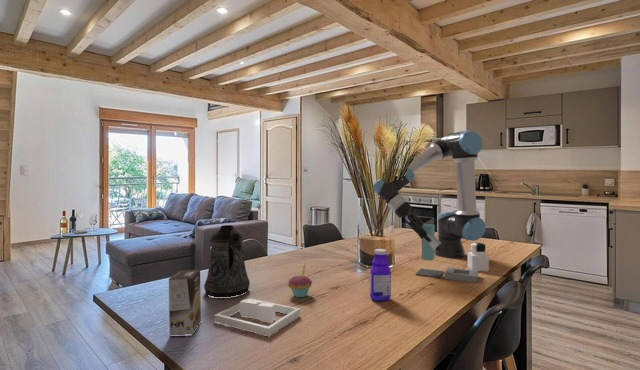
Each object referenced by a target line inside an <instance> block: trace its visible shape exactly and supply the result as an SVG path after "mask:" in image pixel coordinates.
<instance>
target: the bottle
mask: <svg viewBox="0 0 640 370" xmlns="http://www.w3.org/2000/svg"><path fill="white" fill-rule="evenodd" d="M387 257H388V256H387V250H386V249H384V248H376V249H374V257H373V259H372V261H371V263H372V265H371V267H370V270H369V296H370V299H371V300H373V301H375V302H384V301H385V302H386V301H389V300H390V298H391V296H392V295H391V293H392V292H391V290H392V288H391V287H392V272H391V268H390V266H389V263H390V262H389V260H388V258H387Z"/></svg>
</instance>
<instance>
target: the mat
mask: <svg viewBox="0 0 640 370" xmlns="http://www.w3.org/2000/svg"><path fill="white" fill-rule="evenodd" d="M443 274H445V271H444V270H439V269H438V270H437V269H428V268H420V269H419V270H418V271H417V272H416V273H415V276H419V277H426V278H427V277H428V278H437V279H440V278H441V277H442V276H443Z"/></svg>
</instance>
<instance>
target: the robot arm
mask: <svg viewBox="0 0 640 370" xmlns="http://www.w3.org/2000/svg"><path fill="white" fill-rule="evenodd" d="M482 148H483V139H482V137H481V135H480V134H478V133H477V132H476V131H474V130H462V131H458V132H451V133H448V134H446V135H443V136H442V137H440V138H439V139H437V140H435V141H433V142H432V143H430V144H429V146H428V147H426V148H424V150H425V151H424V152H423V154H422V155H420V156H417V157H416V158H415V159H414V161H413V162H412V163H411V165H410V166H409V168H408V170H407V172H406V174H404V175H405V176H403V177H401V178H402V179H403V180H401V179H400V180H401V181H400V180H396V181H392V182H390V183H385V182H384V181H383V180H382V179H379V180H378V179H377V180H376V182H374V183H373V184H372V189H374V190H373V191H374V192H375V193H376V195H377V196H378V195H380V196H382V197H383V198H384V199H385V200H386V203H387V204H388V205H387V204H386V203H385V204H386V205H387V206H388V208H389V207H390V210H392V212H394V215H396V216H397V217H398V218H399V219H401V218H404V222H405V223H406V224H407V225H409V227H410V228H411V229H412V230H413V231H414V232H415V233H416V234H417V235H418V236H419V237H420V239H421V240H422V238H424V239H425V241H426V242H427V243H428V244H429V245H430V246H431V247H432V248H433V249H435V255H436V256H439V257H442V258H463V257H465V255H466V254H465V249H464V248H465V247H464V246H463V243H462V239H463V240H465V241H472V242H473V241H478V240H480V239H481V238H482V237H483V236H484V234H485V232H486V229H487V228H486V222H485V221H484V219H482V218H481V217H480V216H481V213H480V211H478V210H477V194H476V192H477V191H476V172H475V171H476V169H475V161H476V160H477V159H478V157H479V156H478V154H479V153H480V152H482V151H481V150H482ZM446 157H452V160H453V161H454V162H455V171H456V176H455V177H456V199H457V200H456V201H457V210H456V211H450V212H439V214H438V217H437V229H438V230H437V235H438V237H436V236H435V241H434V239H433V238H432V237H431V236H430V235H429V234H427V233H426V232H425V231H424V230H423V228H422V225H423V224H425V223H424V221H422V219H421V218H419V216H418V215H417V214H416V213H413V212H412V211H411V209H412V208H413V206H412V205H411V204H410V203H409V202H408V201H406V198H404V196H402V194H400V193H399V191H401V190H402V189H404V187H406V186H408V185H409V184H410V183H411V182H412V181H413V180H415V172H418V171H419V170H420V169H422V168H424V167H426V166H428V165H429V164H431V163H432V162H434V161H436V160H437V161H438V160H439V161H440V160H442V159H443V158H446ZM391 199H392V200H391ZM390 200H391V201H390ZM426 234H427V235H426Z"/></svg>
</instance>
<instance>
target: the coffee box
mask: <svg viewBox="0 0 640 370" xmlns="http://www.w3.org/2000/svg"><path fill="white" fill-rule="evenodd" d="M201 296H202V295H201V270H200V269H186V270H178V271H177V272H175V274H173V275H171V277H169V278H168V305H169V306H168V310H169V312H168V313H169V319H168V320H169V322H168V323H169V336H170V335H185V334H193V332H194V331H195V329H196V328H197V326H198V325H199V323H200V321H201V322H202V312H201V311H202V310H201V309H202V308H201V307H202V305H201V303H202V301H201V299H202V298H201ZM200 324H201V323H200ZM199 326H200V325H199ZM199 326H198V327H199ZM197 329H198V328H197ZM195 332H196V331H195ZM193 335H194V334H193Z"/></svg>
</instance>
